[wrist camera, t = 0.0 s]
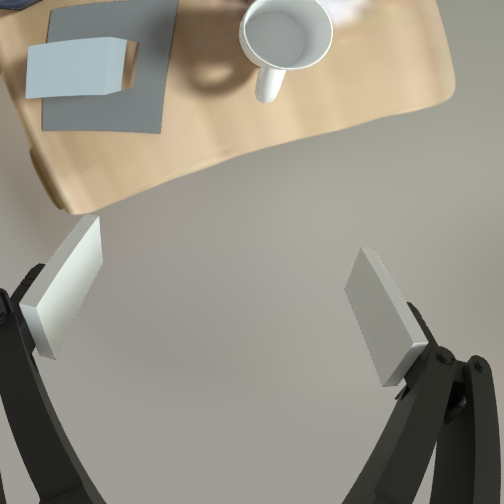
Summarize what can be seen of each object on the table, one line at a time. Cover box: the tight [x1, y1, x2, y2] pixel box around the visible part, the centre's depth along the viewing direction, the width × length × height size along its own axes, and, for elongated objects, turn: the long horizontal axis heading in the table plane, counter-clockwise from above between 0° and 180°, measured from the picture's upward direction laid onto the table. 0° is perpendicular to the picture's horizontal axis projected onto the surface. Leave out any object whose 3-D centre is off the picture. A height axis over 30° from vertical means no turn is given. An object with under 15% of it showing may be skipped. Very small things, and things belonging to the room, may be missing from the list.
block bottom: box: [121, 40, 139, 90], centre depth 30 cm, size 6×10×5 cm, turn 81°
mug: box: [239, 0, 333, 103], centre depth 29 cm, size 8×12×12 cm
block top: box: [26, 37, 127, 99], centre depth 26 cm, size 6×10×5 cm, turn 81°
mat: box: [43, 0, 179, 134], centre depth 32 cm, size 18×18×1 cm
